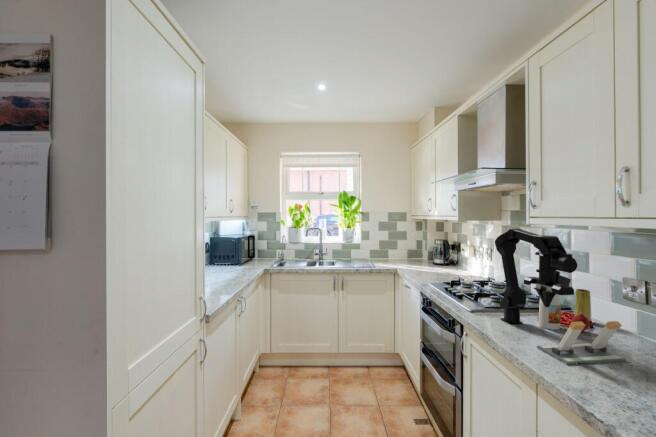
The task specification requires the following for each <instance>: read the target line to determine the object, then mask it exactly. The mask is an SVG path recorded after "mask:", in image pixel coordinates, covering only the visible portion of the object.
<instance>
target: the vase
mask: <svg viewBox="0 0 656 437" xmlns="http://www.w3.org/2000/svg"><path fill="white" fill-rule="evenodd" d="M579 313H582V314H583V315H584V316H585V317H586V318H587V319H588V321H591V322H592V320H591V318H592V317H591V315H592V314H591V291H590V290H588V289H584V288H577V289H575V302H574V316H576V315H578V314H579ZM574 316H573V317H574Z"/></svg>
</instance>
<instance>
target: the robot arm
mask: <svg viewBox="0 0 656 437" xmlns="http://www.w3.org/2000/svg"><path fill="white" fill-rule="evenodd" d="M520 241H523V242H525V243H529V244H531V245H533V247H534V248H535V249H537V250H538V251H536V252H535V253H534V254H535V255H536V256H538V265H539V266H538V269H536V270H535V272H536V273H538V277H537V276H526V277H525V278H524V279H523V284H524V285H527V286H530V285H532V284H534V285H535V287H534V288H533V289H534V290H535V291H536V293H537V294H538V296H539V299H540V298H541V300H542V302H543V304H544V306H545V307H549V306H550V304H551V302H552V300H553V298H554V296H555V295H556V294H558V296H574V295H575V289H574V288H573V286H570V284H571V282H572V278H569V277H566V276H563V275H561V272H563V273H568V274H572V273H574V272H575V271H576V270H577V269H578V262H577V260H576V259H575V258H574V257H573V254H572V253H567V250H566V249H565V247H564V246H563V244H562V242H561V241H560V238H559V237H558V236H556V235H540V234H537V233H534V232H530V231H528V230H524V229H522V228H510V229H508V230H507V231H506V232H504V233H501V234H500V235H499V236H497V237H496V238H495V239H494V245H495V249H496V251H497V252H498V253H499V255H500V256H501V260H502V267H503V273H504V281H505V285H506V287H505V289H504V291H503V298H502V299H501V300H499V307H500V308H501V309H503V317H501V318H500V320H502V321H503V322H504V323H506V324H509V325H516V324H517V325H518V324H520V325H521V324H523V321H521V314H520V312H521V311H520V310H524V309H525V306H526V304H527V296H526V294H527V293H526V290H524V289H522V288H521V287H520V284H519V279H518V272H517V268H516V267H517V266H516V262H515V261H516V260H515V255H514V254H515V252H516V251H517V244H519V243H520Z"/></svg>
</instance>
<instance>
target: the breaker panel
mask: <svg viewBox="0 0 656 437" xmlns="http://www.w3.org/2000/svg"><path fill="white" fill-rule="evenodd" d="M591 344H592V343H591V342H582V343H574V344H573V345H572V347H571V348H570V350H568V351H564V352H560V350H558V349H557V347H558V345H559V344H546V345H545V344H544V345H543V344H541V345H536V348H537V350H540V351H541V350H542V351H541V352H543V351H544V352H543V353H545V352H546V353H545V354H547V355H548V354H549V355H548V356H550V355H552V356H553V357H552V356H551V357H552V358H554V357H555V358H557V359H558V360H557V359H556V360H557V361H559V360H560V361H559V362H561V361H562V362H564V363H566V364H575V365H577V364H576V363H591V364H601V362H602V364H604V363H603V362H607V363H619V362H621V363H622V362H626V359H627V358H624V357H622V356H620V355H619V354H616V353H613V352H611V351H609V350H607V349H608V348H607V347H606V346H604V347H603V348H602V349H599V350H594V348H591V347H590V345H591ZM555 358H554V359H555ZM562 362H561V363H562ZM564 363H563V364H564ZM566 364H565V365H566Z"/></svg>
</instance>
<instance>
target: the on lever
mask: <svg viewBox="0 0 656 437" xmlns="http://www.w3.org/2000/svg"><path fill="white" fill-rule="evenodd" d="M621 327H622V323H621V322H619V321H618V320H617V321H616V320H614V321H607V322H606V324H605V325H604V327H603V328H602V330H600V332H599V334H597V336H596V337H595V339H594V340H593V341H592V343H591V345H590V347H591V348H594V350H599V349H602V348H603V347H606V345H607V344H608V343H609V341H610V340H611V338H612V337H613V336H614V335H615V333H616V332H617V331H618V330H619V329H621Z"/></svg>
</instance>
